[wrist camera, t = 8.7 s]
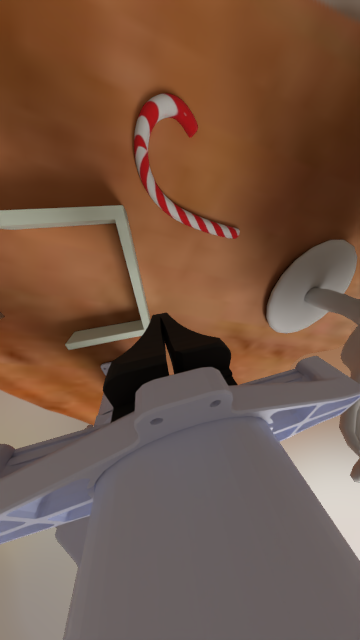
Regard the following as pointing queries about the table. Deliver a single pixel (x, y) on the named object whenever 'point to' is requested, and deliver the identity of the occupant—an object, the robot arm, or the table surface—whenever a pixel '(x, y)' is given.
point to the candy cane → (147, 119)
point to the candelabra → (323, 312)
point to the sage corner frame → (119, 216)
